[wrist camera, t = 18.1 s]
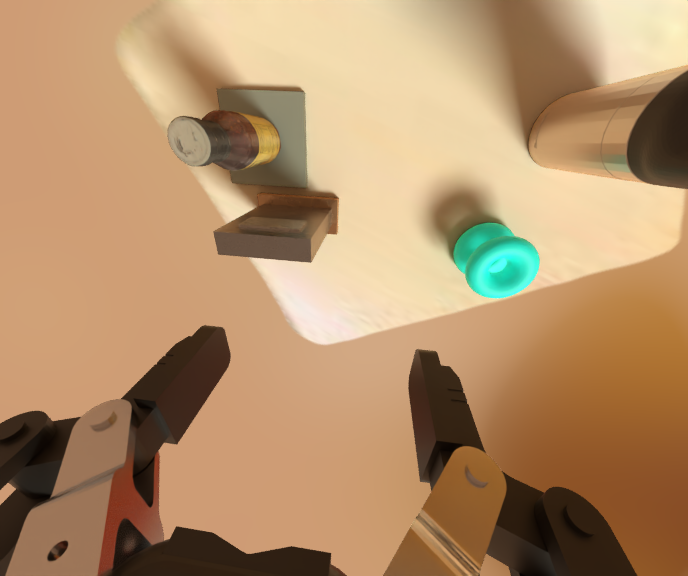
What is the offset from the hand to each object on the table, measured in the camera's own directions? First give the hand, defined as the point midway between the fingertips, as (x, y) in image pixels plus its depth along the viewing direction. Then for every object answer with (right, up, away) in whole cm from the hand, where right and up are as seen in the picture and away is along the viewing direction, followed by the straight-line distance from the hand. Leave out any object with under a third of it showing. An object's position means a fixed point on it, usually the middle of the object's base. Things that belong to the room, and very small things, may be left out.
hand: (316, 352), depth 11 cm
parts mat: (-11, +26, +31) cm, 42 cm away
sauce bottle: (-11, +26, +30) cm, 41 cm away
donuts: (+26, +10, +35) cm, 45 cm away
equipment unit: (-7, +16, +36) cm, 40 cm away
